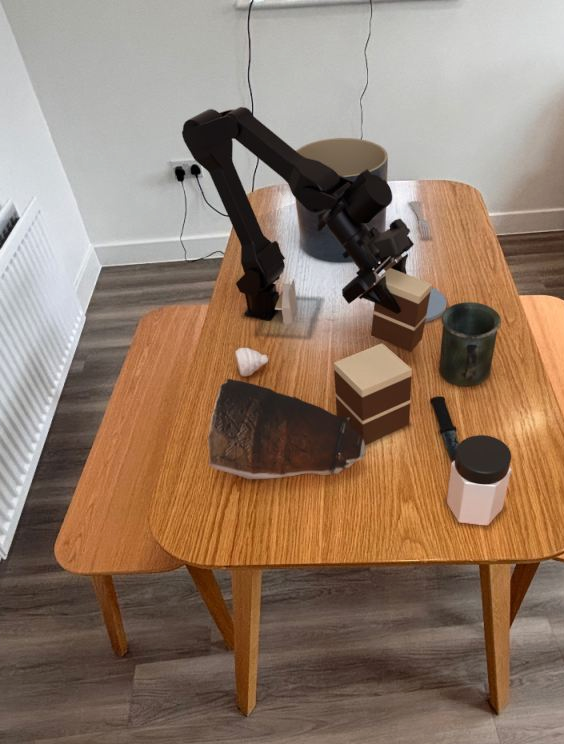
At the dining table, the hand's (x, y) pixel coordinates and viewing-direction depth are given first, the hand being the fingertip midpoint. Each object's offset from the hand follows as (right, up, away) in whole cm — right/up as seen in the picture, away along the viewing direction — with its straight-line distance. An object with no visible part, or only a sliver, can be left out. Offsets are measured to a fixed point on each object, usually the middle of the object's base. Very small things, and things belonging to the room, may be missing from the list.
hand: (405, 305), depth 121 cm
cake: (-6, -23, -4) cm, 24 cm away
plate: (+4, +7, +21) cm, 22 cm away
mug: (+12, -13, +4) cm, 18 cm away
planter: (-13, +29, +40) cm, 51 cm away
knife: (+7, -26, -7) cm, 28 cm away
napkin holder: (-24, +4, +19) cm, 31 cm away
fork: (+8, +37, +47) cm, 60 cm away
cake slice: (-1, -4, +7) cm, 8 cm away
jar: (+10, -38, -18) cm, 43 cm away
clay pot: (-21, -31, -10) cm, 38 cm away
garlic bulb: (-30, -11, +7) cm, 32 cm away
